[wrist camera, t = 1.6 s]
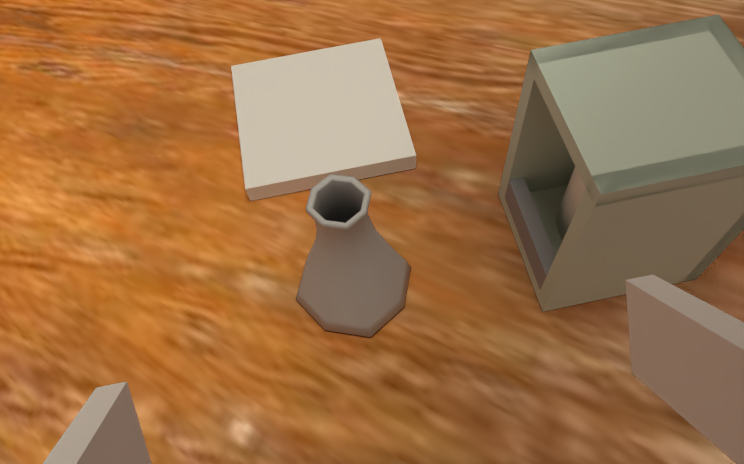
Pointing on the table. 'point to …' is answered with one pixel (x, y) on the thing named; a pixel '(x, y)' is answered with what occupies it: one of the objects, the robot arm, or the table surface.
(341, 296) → the flask
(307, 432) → the table surface
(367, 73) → the plate
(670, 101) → the dispenser box
